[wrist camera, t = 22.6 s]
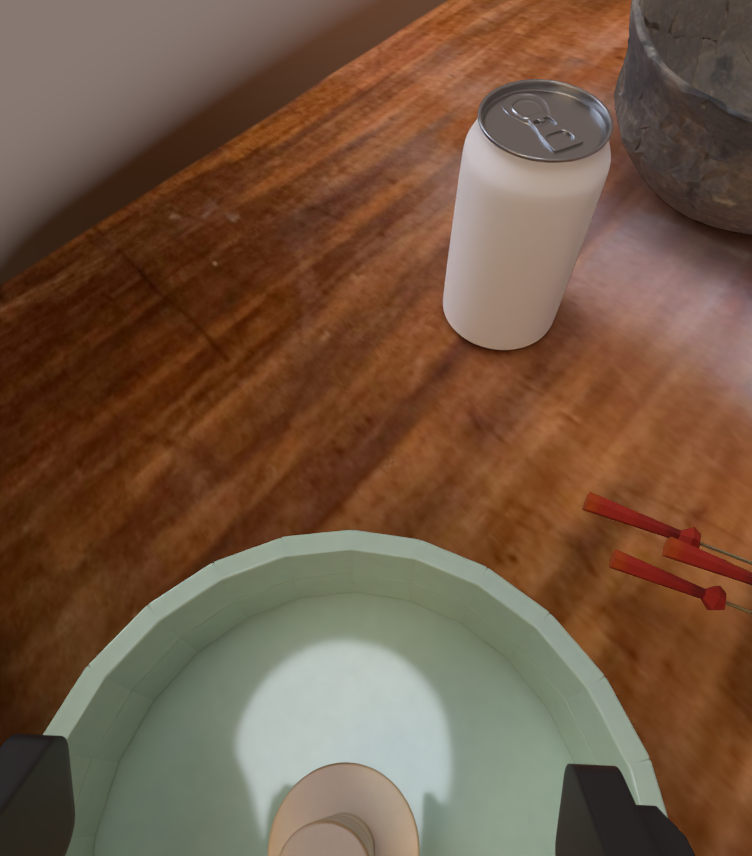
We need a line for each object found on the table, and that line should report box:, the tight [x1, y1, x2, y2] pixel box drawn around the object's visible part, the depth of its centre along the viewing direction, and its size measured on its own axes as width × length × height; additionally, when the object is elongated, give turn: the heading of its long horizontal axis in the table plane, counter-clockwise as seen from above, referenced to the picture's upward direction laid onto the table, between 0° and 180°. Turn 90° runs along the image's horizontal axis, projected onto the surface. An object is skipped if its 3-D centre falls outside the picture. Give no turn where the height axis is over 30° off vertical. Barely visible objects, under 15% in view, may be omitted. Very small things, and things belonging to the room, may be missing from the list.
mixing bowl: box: [43, 530, 668, 856], centre depth 21 cm, size 20×20×6 cm
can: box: [443, 79, 613, 350], centre depth 31 cm, size 6×6×12 cm
